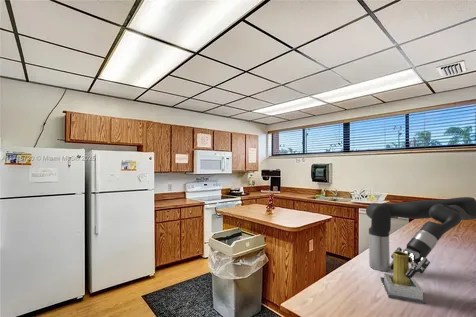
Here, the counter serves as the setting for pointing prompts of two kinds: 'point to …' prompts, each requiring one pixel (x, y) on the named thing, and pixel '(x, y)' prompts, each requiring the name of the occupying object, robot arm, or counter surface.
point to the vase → (400, 268)
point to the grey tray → (403, 290)
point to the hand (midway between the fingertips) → (398, 272)
